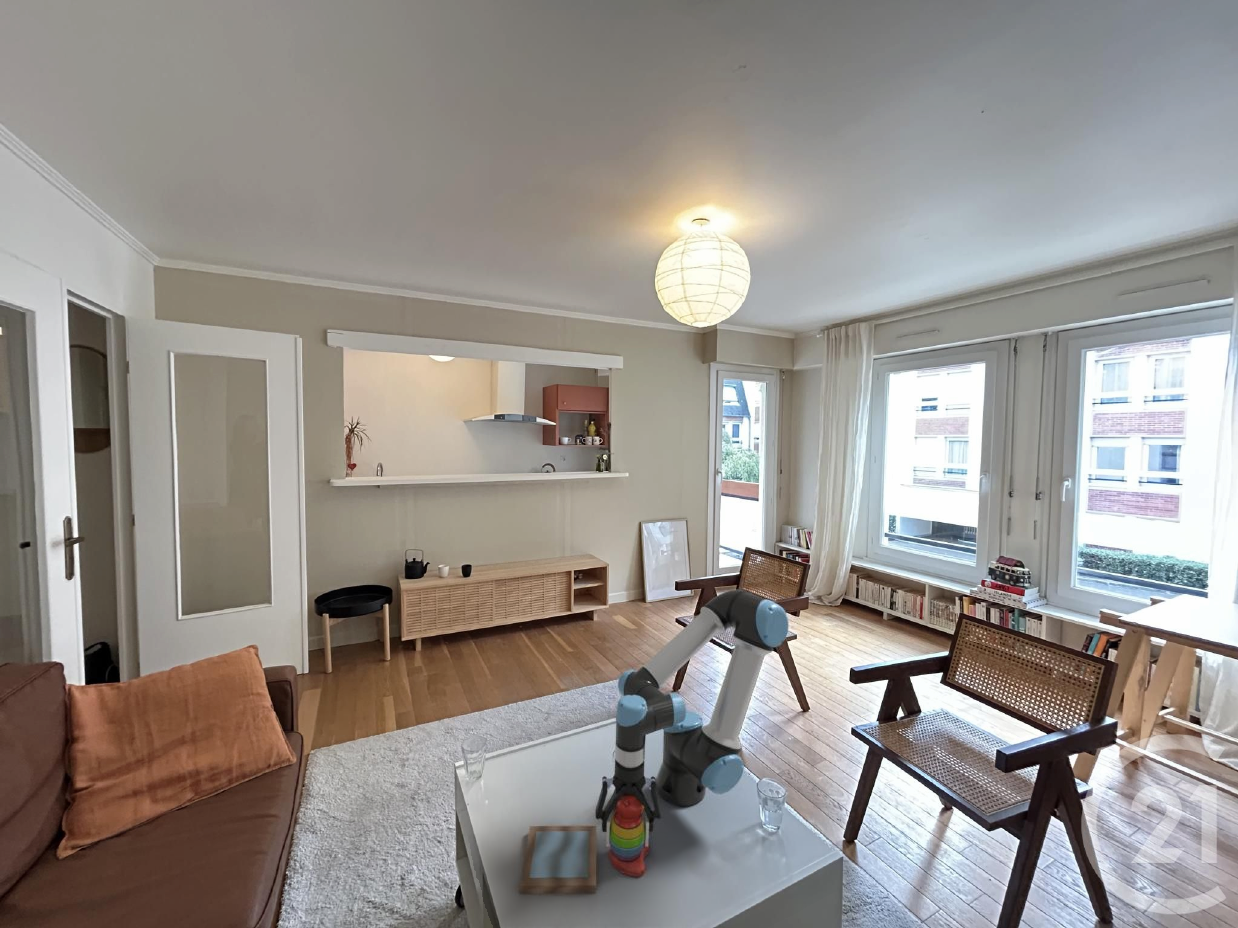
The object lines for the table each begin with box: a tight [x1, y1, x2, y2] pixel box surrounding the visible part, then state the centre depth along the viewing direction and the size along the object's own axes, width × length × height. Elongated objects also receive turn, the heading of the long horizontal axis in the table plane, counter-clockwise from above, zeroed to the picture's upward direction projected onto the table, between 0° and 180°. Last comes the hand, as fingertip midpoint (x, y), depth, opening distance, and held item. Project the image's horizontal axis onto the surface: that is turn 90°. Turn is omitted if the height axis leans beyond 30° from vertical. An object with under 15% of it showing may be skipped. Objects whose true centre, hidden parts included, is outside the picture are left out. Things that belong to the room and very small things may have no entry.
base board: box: [519, 825, 597, 895], centre depth 130 cm, size 18×18×2 cm
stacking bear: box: [608, 795, 650, 878], centre depth 131 cm, size 11×10×18 cm
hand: (626, 841), depth 131 cm, fingers closed on stacking bear, 9 cm apart
